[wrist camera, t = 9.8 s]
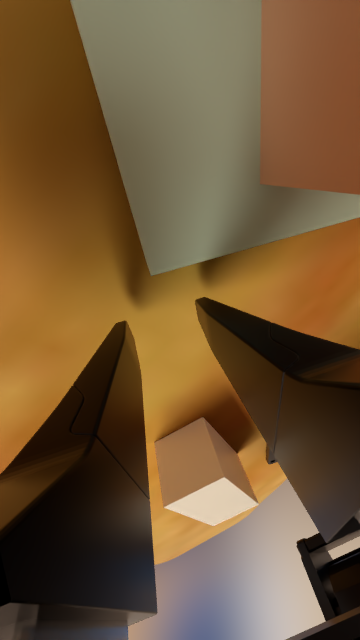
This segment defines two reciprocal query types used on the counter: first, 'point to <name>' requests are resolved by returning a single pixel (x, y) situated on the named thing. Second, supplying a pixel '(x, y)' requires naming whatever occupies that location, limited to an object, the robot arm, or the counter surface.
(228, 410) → the counter surface
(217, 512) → the cream brick
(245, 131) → the baseplate
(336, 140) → the terracotta brick
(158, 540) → the counter surface
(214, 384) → the counter surface
